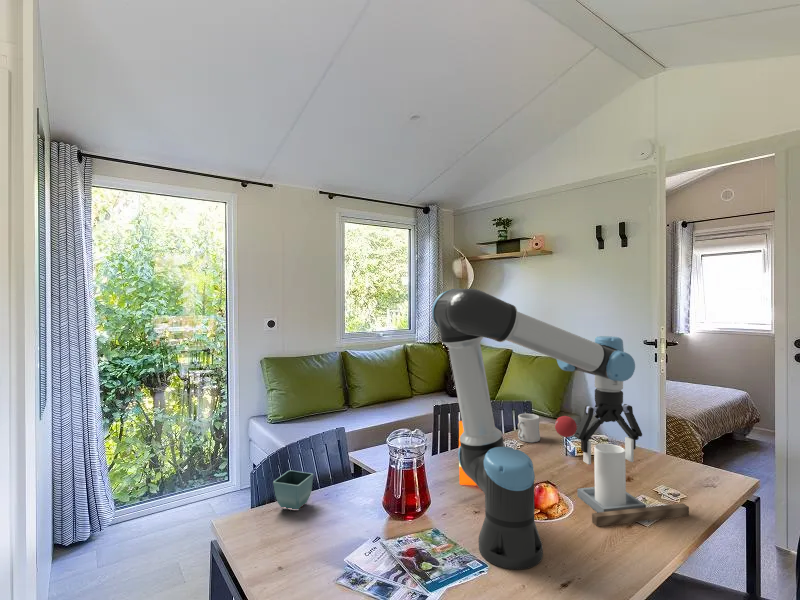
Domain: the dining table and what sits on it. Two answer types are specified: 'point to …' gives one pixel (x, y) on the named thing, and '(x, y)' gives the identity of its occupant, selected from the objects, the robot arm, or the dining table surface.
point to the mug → (528, 427)
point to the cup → (610, 475)
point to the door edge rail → (640, 514)
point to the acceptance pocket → (589, 499)
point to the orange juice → (462, 476)
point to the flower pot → (293, 489)
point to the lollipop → (565, 427)
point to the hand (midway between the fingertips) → (608, 461)
